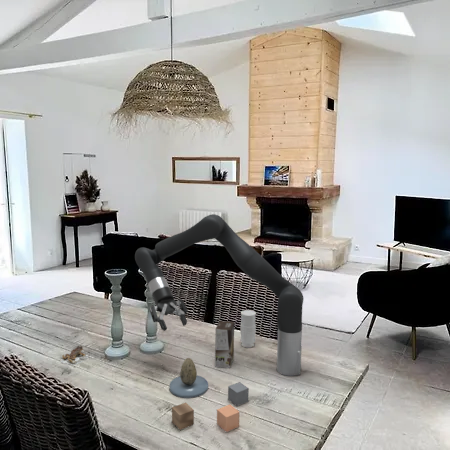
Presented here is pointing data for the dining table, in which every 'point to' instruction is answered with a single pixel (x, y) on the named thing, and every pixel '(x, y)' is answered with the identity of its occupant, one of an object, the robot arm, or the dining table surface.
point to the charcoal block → (238, 393)
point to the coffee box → (224, 344)
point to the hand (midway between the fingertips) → (175, 327)
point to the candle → (248, 328)
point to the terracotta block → (228, 418)
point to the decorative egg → (188, 372)
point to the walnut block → (182, 415)
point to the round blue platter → (188, 387)
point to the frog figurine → (73, 356)
